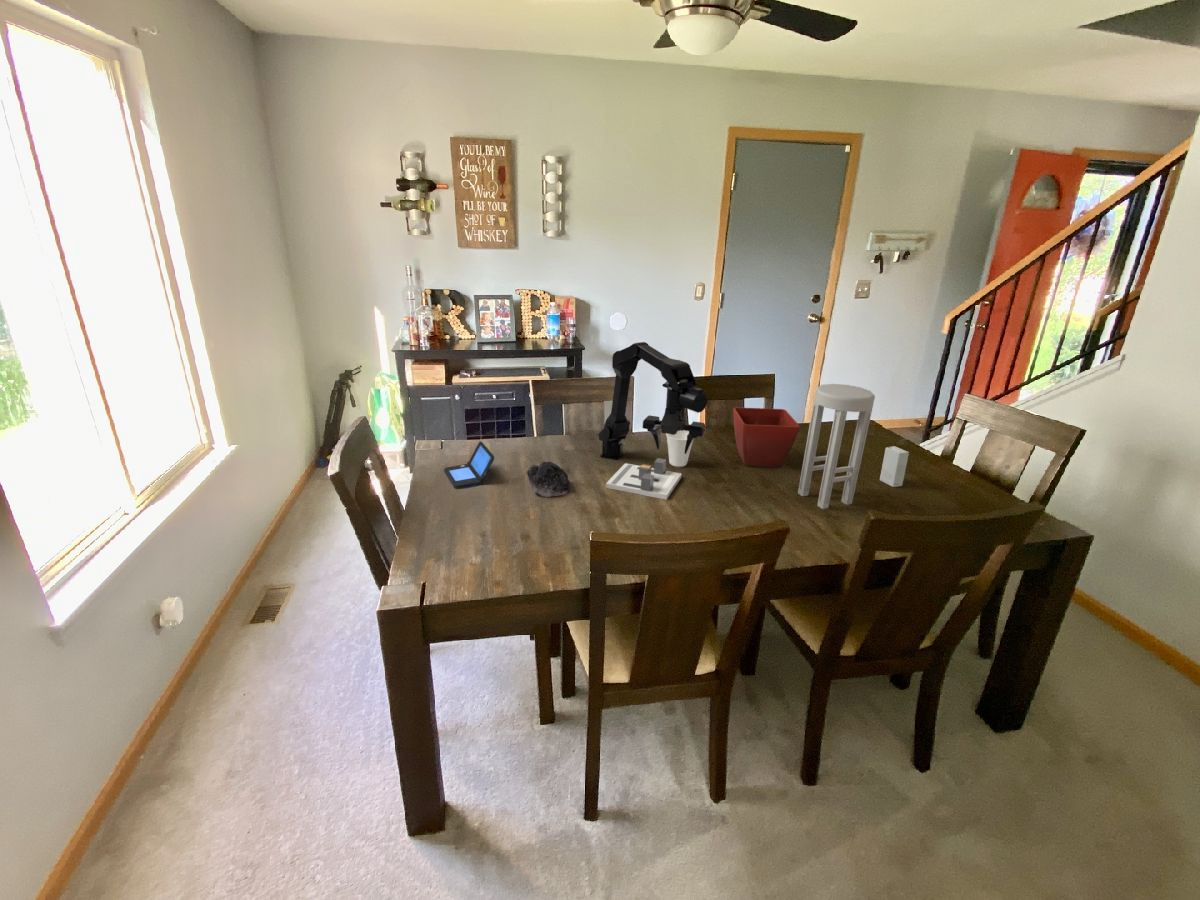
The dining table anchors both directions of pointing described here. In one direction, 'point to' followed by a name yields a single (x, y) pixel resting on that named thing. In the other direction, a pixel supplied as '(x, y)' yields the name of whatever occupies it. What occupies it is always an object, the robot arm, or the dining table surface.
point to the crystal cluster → (548, 479)
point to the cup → (678, 448)
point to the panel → (631, 483)
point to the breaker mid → (644, 470)
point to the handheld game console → (471, 468)
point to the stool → (836, 439)
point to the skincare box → (894, 466)
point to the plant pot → (764, 435)
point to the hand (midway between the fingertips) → (671, 451)
